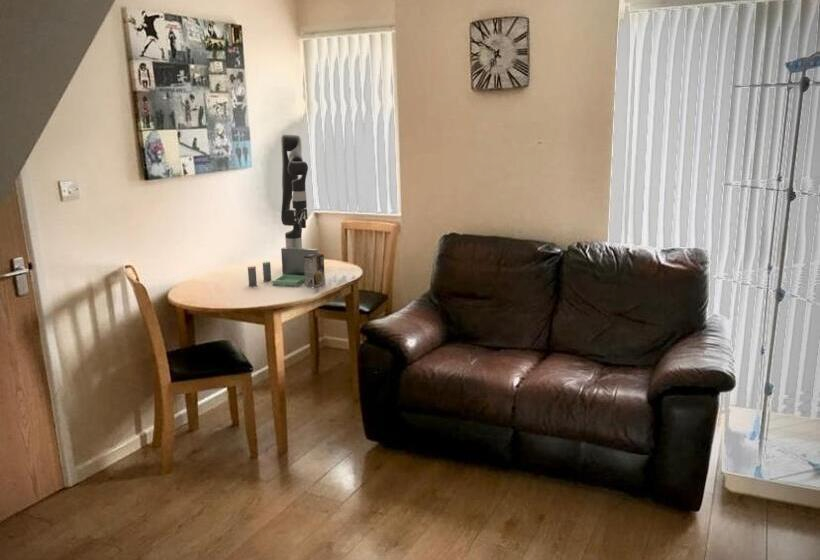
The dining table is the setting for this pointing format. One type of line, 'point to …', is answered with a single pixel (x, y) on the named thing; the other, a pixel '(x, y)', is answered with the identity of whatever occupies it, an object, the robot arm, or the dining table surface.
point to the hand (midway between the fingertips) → (300, 229)
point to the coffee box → (314, 270)
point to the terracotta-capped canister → (252, 275)
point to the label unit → (294, 260)
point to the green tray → (289, 280)
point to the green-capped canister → (266, 271)
